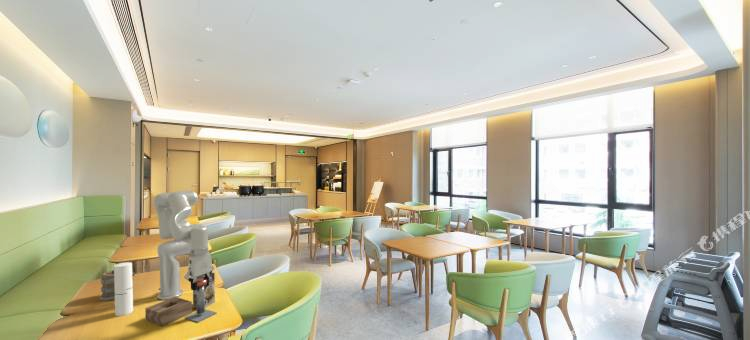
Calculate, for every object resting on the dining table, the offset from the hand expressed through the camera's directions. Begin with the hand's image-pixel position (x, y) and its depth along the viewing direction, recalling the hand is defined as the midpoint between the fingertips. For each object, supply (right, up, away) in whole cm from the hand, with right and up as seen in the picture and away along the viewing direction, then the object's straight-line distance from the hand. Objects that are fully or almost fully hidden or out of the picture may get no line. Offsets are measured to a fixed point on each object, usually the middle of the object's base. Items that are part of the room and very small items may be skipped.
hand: (200, 287), depth 153 cm
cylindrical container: (-42, -15, +5) cm, 45 cm away
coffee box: (-5, -15, +13) cm, 20 cm away
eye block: (-15, -15, 0) cm, 21 cm away
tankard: (-61, -15, +25) cm, 68 cm away
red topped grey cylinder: (0, -13, 0) cm, 13 cm away
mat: (0, -14, 0) cm, 14 cm away
